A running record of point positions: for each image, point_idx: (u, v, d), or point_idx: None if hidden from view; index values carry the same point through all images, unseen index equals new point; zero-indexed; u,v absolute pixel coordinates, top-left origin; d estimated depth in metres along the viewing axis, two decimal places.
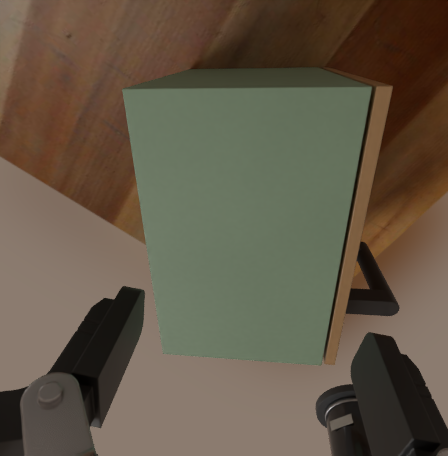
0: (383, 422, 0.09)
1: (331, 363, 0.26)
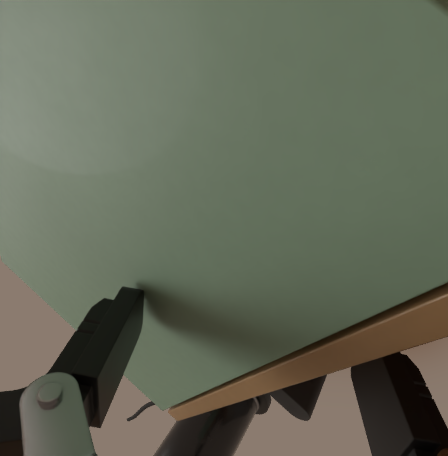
0: (383, 422, 0.09)
1: None
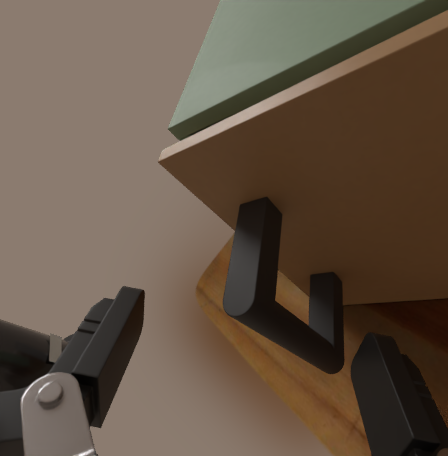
0: (383, 421, 0.09)
1: (161, 156, 0.15)
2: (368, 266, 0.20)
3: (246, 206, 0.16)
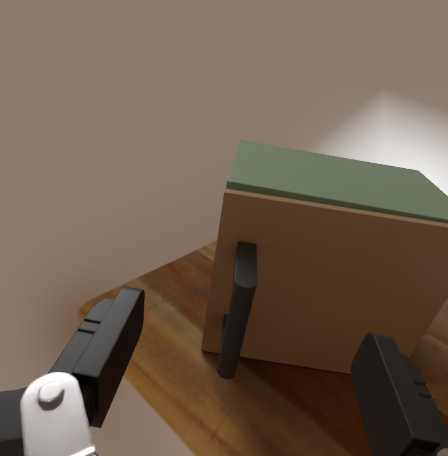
0: (383, 422, 0.09)
1: (226, 191, 0.26)
2: (262, 318, 0.32)
3: (243, 243, 0.27)
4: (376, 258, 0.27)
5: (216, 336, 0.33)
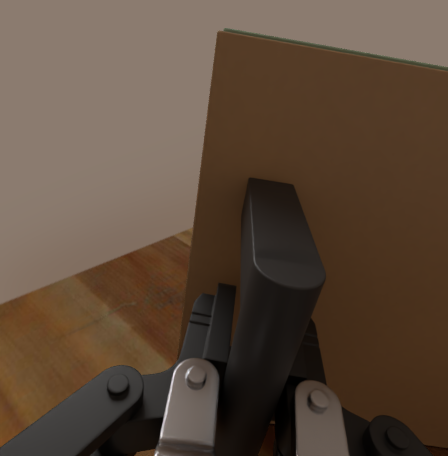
0: None
1: (224, 31, 0.10)
2: None
3: (262, 181, 0.11)
4: None
5: None
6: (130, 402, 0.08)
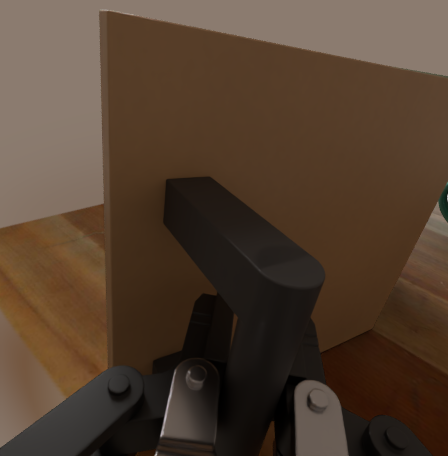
0: None
1: None
2: None
3: (183, 180, 0.10)
4: (389, 157, 0.16)
5: None
6: (131, 402, 0.08)
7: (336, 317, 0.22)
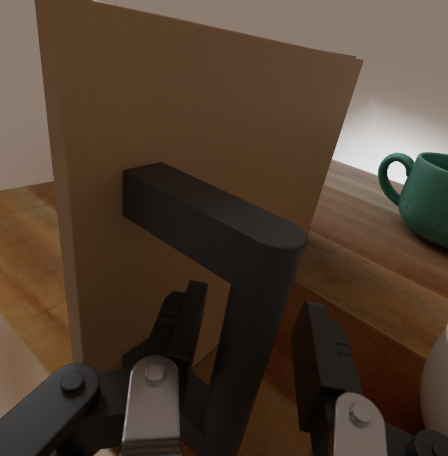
0: (306, 377, 0.10)
1: None
2: None
3: (140, 169, 0.10)
4: (298, 126, 0.18)
5: None
6: (83, 400, 0.07)
7: None
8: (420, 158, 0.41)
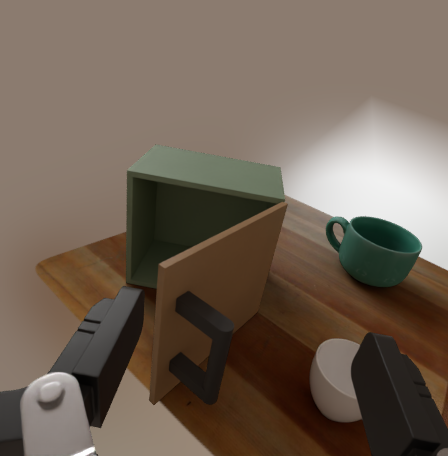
0: (383, 422, 0.09)
1: (164, 266, 0.26)
2: (194, 339, 0.36)
3: (182, 297, 0.30)
4: (249, 249, 0.38)
5: (164, 382, 0.35)
6: None
7: (239, 314, 0.44)
8: (350, 224, 0.60)
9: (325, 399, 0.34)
